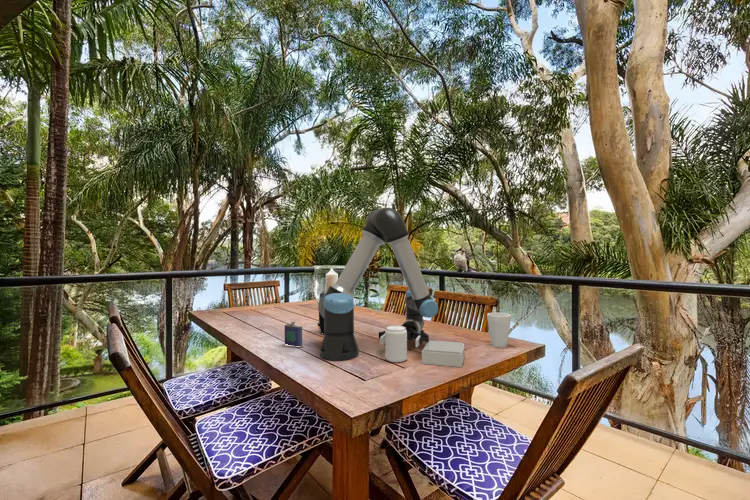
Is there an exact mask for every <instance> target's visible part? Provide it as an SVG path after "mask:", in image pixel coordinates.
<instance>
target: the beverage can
mask: <svg viewBox="0 0 750 500" xmlns="http://www.w3.org/2000/svg"><path fill="white" fill-rule="evenodd" d="M384 331H385V342H384V344H385V345H384V347H385V348H384V349H385V353H384V357H385V360H387V361H388V362H391V363H402V362H405V361H406V360H407V359H408V340H407V331H406V328H405V327H403V326H402V325H389V326H387V327H386V329H385V330H384Z"/></svg>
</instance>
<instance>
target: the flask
mask: <svg viewBox="0 0 750 500" xmlns="http://www.w3.org/2000/svg"><path fill="white" fill-rule="evenodd" d="M285 344H288V345H294V346H302V347H303V326H302V325H296V321H290V323H286V324H284V345H285Z"/></svg>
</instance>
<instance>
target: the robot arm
mask: <svg viewBox="0 0 750 500" xmlns="http://www.w3.org/2000/svg"><path fill="white" fill-rule="evenodd" d="M361 234H362V237H361V238H360V239H359V242H358V244H357V246H356V247H355V249H354V251H353V252H352V254H351V255H350V258H349V259H348V261H347V263H346V265H345V266H344V267H343V270H342V271H341V273H340V275H339V276H338V278H337V280H336V281H335V282H334V283H333V284H330V285H329V287H328V288H327V289H326V292H324V293H325V294H324V295H323V296H322V297H321V298H320V297H319V300H318V303H317V304H318V314H319V313H320V315H321V316H322V317H323V318H324V335H323V338H322V343H321V346H320V348H319V356H321V357H320V358H322V357H323V358H322V359H324V358H325V359H324V360H327V359H329V360H328V361H347V360H351V359H355V358H356V357H358V356H359V354H360V353H359V352H360V351H359V350H360V349H359V346H358V342H357V339H356V337H355V316H354V315H355V313H354V312H355V302H354V299H355V298H354V295H353V294H354V292H355V290H356V288H357V286H358V284H359V283H360V281H361V279H362V278H363V276H364V274H365V272H366V270H367V269H368V267H369V265H370V263H371V262H372V260H373V258H374V256H375V255H376V253H377V251H378V250H379V248H380V246H383V245H385V244H388V245H390V247H391V249H392V251H393V253H394V256H395V259H396V261H397V264H398V265H399V268H400V272H401V273H402V275H403V276H402V277H403V279H404V281H405V283H406V286H407V288H408V290H406V292H405V322H403V323H402V324H401V326H403V327H405V328H406V331H407V341H412V340H415V348H418V347H419V346H420V344H423V343H428V342H429V340H430V335H428V333H426V332H425V330H424V326H425V325H424V324H425V320H424V318H428V319H431V318H434V317H436V316H437V314H438V312H439V305H438V303H437V302H436V301H435V300H434V299H432V297H431V293H430V292H429V289H428V286H427V284H426V281H425V277H424V275H423V274H422V271H421V269H420V266H419V263H418V261H417V258H416V256H415V252H414V251H413V250H414V249H413V247H412V245H411V243H410V240H409V235H410V233H409V231H408V228H407V225H406V223H405V220H404V219H403V217H402V215H401V214H400V213H399V211H398V210H396V209H394V208H392V207H383V208H380V209H376V210H373V211H372V212H370V213H369V214H368V216H367V217H366V220H365V225H364V227H363V228H362V230H361ZM385 331H386V330H383V331H379V332H378V340H379V344H380V345H383V344H385Z"/></svg>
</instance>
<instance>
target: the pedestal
mask: <svg viewBox="0 0 750 500" xmlns="http://www.w3.org/2000/svg"><path fill="white" fill-rule="evenodd" d="M464 358H465V343H463V342H459V341H457V342H456V341H446V340H445V341H444V340H443V341H441V340H430V339H429V342H426V344H425V346H424V347H423V349H422V350H421V364H422V365H423V364H424V365H433V366H434V365H435V366H445V367H455V368H462V366H463V363H464Z"/></svg>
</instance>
